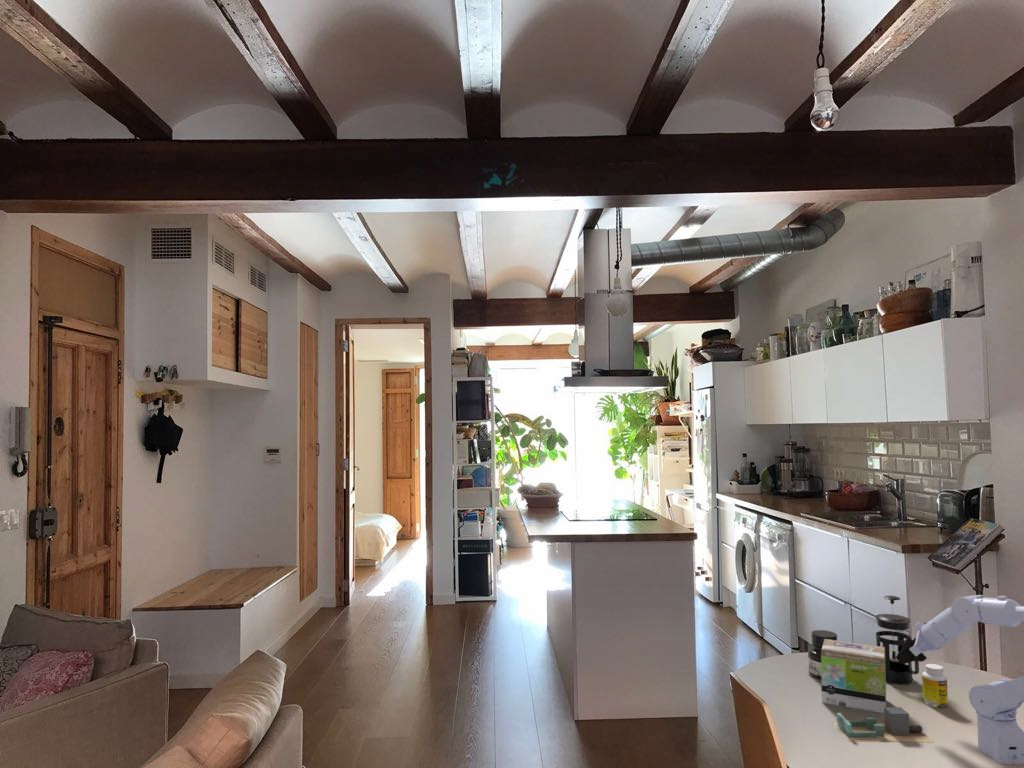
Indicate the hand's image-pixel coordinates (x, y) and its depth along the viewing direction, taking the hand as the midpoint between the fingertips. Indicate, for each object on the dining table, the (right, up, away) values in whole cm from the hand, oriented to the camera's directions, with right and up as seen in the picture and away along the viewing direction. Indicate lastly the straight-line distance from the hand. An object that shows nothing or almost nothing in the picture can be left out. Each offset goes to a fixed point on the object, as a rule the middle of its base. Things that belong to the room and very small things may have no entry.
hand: (906, 653), depth 180 cm
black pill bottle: (-8, -17, +28) cm, 33 cm away
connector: (-6, -15, -10) cm, 19 cm away
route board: (-11, -15, -10) cm, 22 cm away
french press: (+11, -16, +25) cm, 32 cm away
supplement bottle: (+10, -16, +6) cm, 20 cm away
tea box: (-9, -16, +8) cm, 20 cm away
